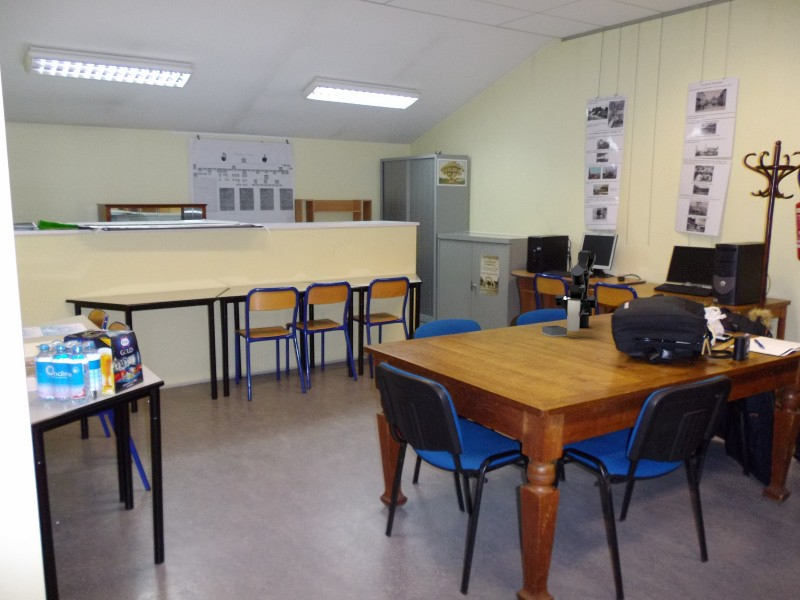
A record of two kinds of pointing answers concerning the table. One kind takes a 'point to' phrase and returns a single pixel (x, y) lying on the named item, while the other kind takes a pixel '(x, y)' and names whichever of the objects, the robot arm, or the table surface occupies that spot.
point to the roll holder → (554, 331)
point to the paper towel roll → (573, 315)
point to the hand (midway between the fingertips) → (573, 315)
